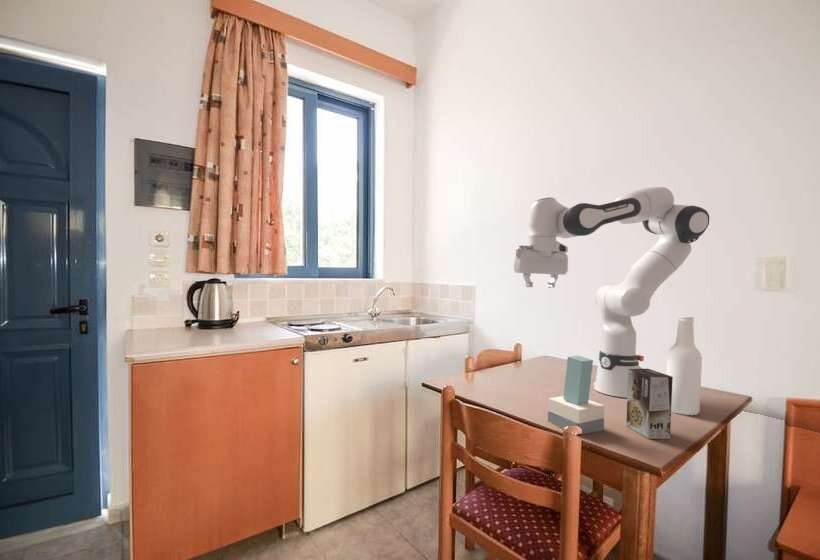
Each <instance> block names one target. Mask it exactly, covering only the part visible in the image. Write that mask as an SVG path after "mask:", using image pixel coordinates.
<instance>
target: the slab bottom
mask: <svg viewBox="0 0 820 560" xmlns="http://www.w3.org/2000/svg"><path fill="white" fill-rule="evenodd" d="M547 422H548V423H551V424H552V425H554V426H556V425H557V426H556V427H558V426H559V428H560V427H562V428H563V427H566V426H578V427H580V428H581V429H582V434H581V435H585V433H587V434H590V433H589V432H593V433H597V432H596V431H598V432H603V431H602V430H604V428H605V418H602V419H598V420H593V421H589V422H584V423H580V424H578V423H576V422H573V421H571V420H569V419H566V418H564V417H561V416H559V415H557V414H554V413H552V412H550V411H548V410H547ZM562 428H561V429H562Z"/></svg>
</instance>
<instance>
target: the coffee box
mask: <svg viewBox="0 0 820 560" xmlns="http://www.w3.org/2000/svg"><path fill="white" fill-rule="evenodd" d="M672 381H673V377H672V376H669V375H667V373H662V372H659V371H657V370H654V369H650V368H642V369H628V389H627V398H626V423H625V425H626V426H627V427H628V428H630V429H632V430H633V431H635V432H637V434H640V435H641V436H643V437H645V438H647V439H648V440H649V439H650V440H654V439H655V440H656V439H657V440H670V438H671V425H672V424H671V422H672V412H671V403H672Z"/></svg>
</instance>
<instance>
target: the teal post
mask: <svg viewBox="0 0 820 560" xmlns="http://www.w3.org/2000/svg"><path fill="white" fill-rule="evenodd" d="M593 364H594V360H593V359H590V358H587V357H584V356H581V355H570V356H567V360H566V369H565V378H564V380H565V382H564V388H563V390H564V391H563V396H564V397H563V399H564V400H566V401H569V402H571V403H573V404H575V405H582V404H587V403H588V400H590V392H591V391H590V390H591V382H592V381H591V380H592V371H593Z"/></svg>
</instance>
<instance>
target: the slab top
mask: <svg viewBox="0 0 820 560" xmlns="http://www.w3.org/2000/svg"><path fill="white" fill-rule="evenodd" d="M563 397H564V395H561V396H560V395H559V396H555V397H549V398H548V404H547V406H548V407H547V412H548V411H550V412H552V413H554V414H557V415H559V416H561V417H564V418H566V419H569V420H571V421H573V422H576V423H578V424H580V423H584V422H589V421H593V420H598V419H602V418H603V419H605V417H604V416H605V404H602V403H599V402H595V401H593V400H590V399H589V400H588V403H587V404H582V405H575V404H573V403H571V402H569V401H566V400H564V399H563Z"/></svg>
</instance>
